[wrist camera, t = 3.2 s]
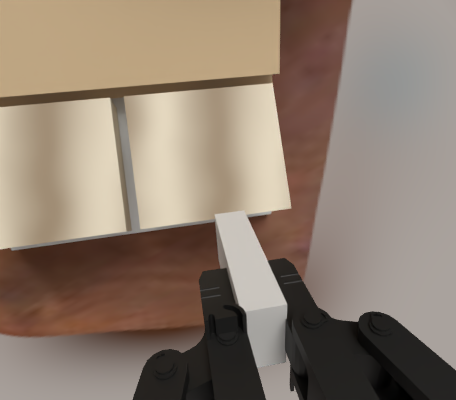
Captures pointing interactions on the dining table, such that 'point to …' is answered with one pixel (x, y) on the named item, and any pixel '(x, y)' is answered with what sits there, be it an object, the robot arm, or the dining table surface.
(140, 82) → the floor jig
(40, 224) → the cream flat block
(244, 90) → the beige square panel
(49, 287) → the dining table surface
